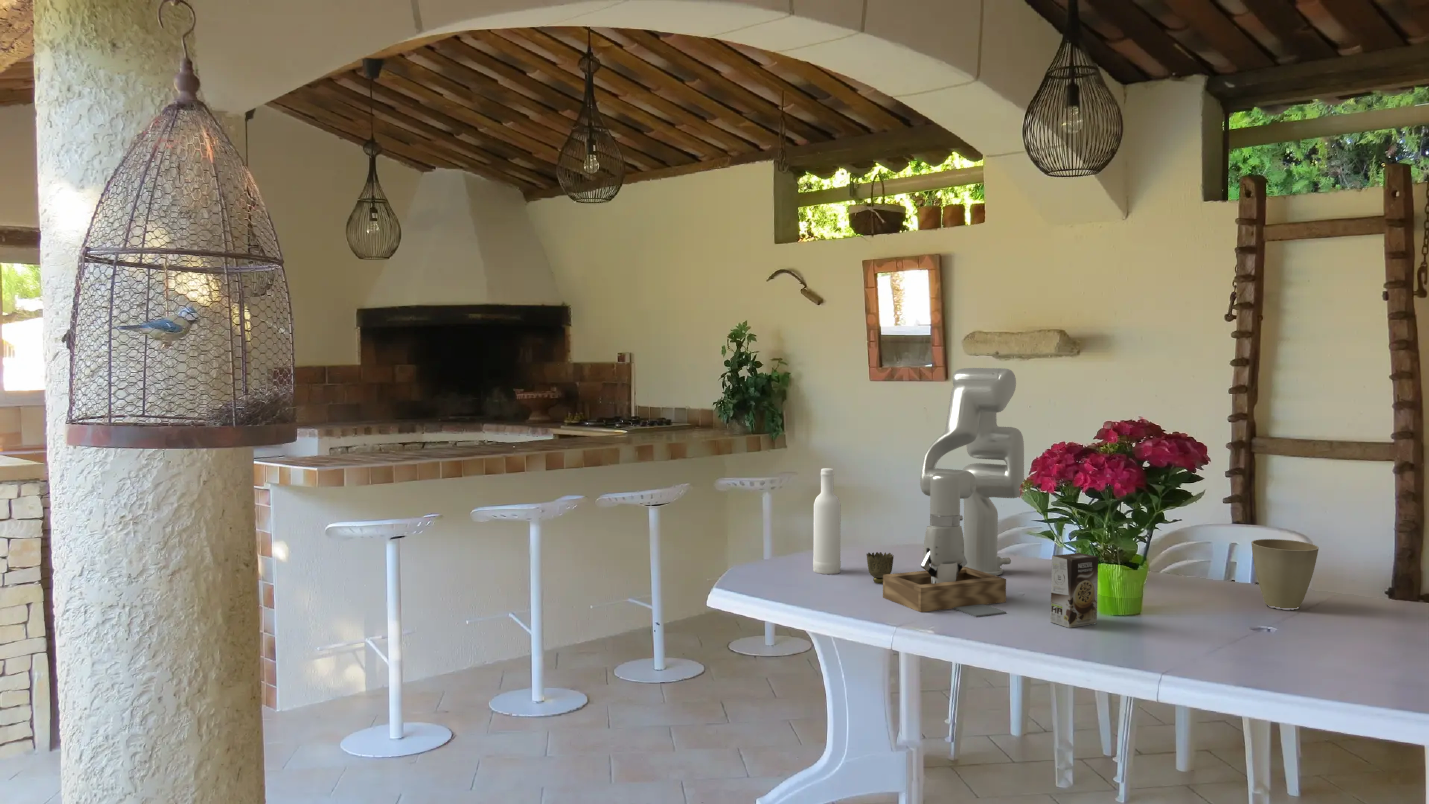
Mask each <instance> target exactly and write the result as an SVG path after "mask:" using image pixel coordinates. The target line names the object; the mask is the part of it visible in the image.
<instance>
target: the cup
mask: <svg viewBox="0 0 1429 804" xmlns="http://www.w3.org/2000/svg"><path fill="white" fill-rule="evenodd" d="M894 557H895V556H894V555H893V553H891V552H888V553H886V552H884V553H882V552H881V551H880V552H878V551H877V552H871V553H870V552H868V553H866V562H867V570H868V573H869V575H870V576H871V577H873V583H875V584H877V585H878V584H879V585H880V584H881V585H883V575H886V574H892V571H893V564H894Z"/></svg>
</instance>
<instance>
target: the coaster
mask: <svg viewBox="0 0 1429 804" xmlns="http://www.w3.org/2000/svg"><path fill="white" fill-rule="evenodd" d="M953 610H956V611H959V612H961V613H963V614H967V615H970V616H972V617H974V618H978V617H979V618H981V617H988V616H994V615H995V616H996V615H1002V614H1003V615H1004V614H1007V611H1005V610H1003V609H1000V608H997V607H995V606H994V607H993V606H990V605H989V604H986V605H985V604H977V605H969V606H960V607H954V608H953Z"/></svg>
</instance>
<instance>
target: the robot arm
mask: <svg viewBox="0 0 1429 804" xmlns="http://www.w3.org/2000/svg"><path fill="white" fill-rule="evenodd" d="M952 385H953V387H952V389H951V393H950V399H949V405H948V410H947V411H948V412H947V416H946V417H947V418H946V423H945V429H944V432H943V433H942V434H941V435H940V436H938V438H936V440H934V441H933V442H932V444H931V445H930V446H929V447H928V449H927V451H926V452H925V454H924V457H923V461H922V466H921V472H920V479H919V481H920V482H919V483H920V484H919V485H920V490H921V492H922V493H923V495H925V496H928V497H929V498H930V500H929V502H930V504H929V506H930V507H929V508H930V509H929V525H928V526H926V530H925V534H924V540H923V550H922V551H923V552H922V557H923V558H922V560H923V561H922V562H921V565H920V567H921V568H922V569H923V570H924V571H926V570H927V572H928V573H929V574H930V576H932V577H935V578H937V576H938V567H937V569H936V571H935V570H934V569H933V568H932V566H931V560H932V565H933V566H940V564H953V563H956V562H957V572H956V576H958V575H959V572H960V570H961V569H962V567H968V568H971V569H975V570H978V571H981V572H985V573H988V574H991V575H995V576H1001V575H1002V574H1003V572H1004V570H1003V569H1002V567H1001V566H1003V565H1010V564H1011V563H1012V560H1011V558H1010V557H1003V558H1001V556H999V555H998V543H999V541H998V539H999V538H998V535H999V533H998V531H999V530H998V529H999V525H998V523H999V522H998V521H999V516H998V515H999V514H998V510H997V507H996V505H995V504H994V503H993V502H992V500H991V499H990V498H997V499H998V498H999V499H1017V498H1019V497H1021V496H1022V494H1021V495H1020V491H1019V487H1020V485H1021V484H1022V482H1023V481H1024V482H1025V443H1024V442H1025V441H1024V436H1023V434H1022V431H1020V430H1019V429H1018V428H1016V427H1012V426H998V424H997V423H998V422H997V420H998V419H997V413H1001V412H1003V411H1004V410H1005V408H1006V407H1007V406H1008V404H1009V402H1010V400H1011V399H1012V398H1013V396H1014V394H1015V391H1016V387H1017V378H1016V375H1015V373H1014V371H1012V370H1011V369H1009V368H1003V367H1001V368H1000V367H999V368H997V367H996V368H995V367H985V368H984V367H965V368H960V369H957V370H955V371H954V372H953V375H952ZM964 446H966V451H967V454H968V456H970V457H971V458H973V459H978V460H993V461H994V460H997V461H1004V462H1005V464H997V463H985V462H984V463H981V462H979V463H978V462H977V463H970V464H968V465H965V466H964V467H963V469H953V468H952V469H951V468H937V467H936V466H937V464H938V462H939V460H940V459H941V458H942V457H943V456H944V455H946V454H947V453H950V452H952V451H955V450H957V449H959V448H961V447H964ZM961 499H963V515H962V514H961ZM962 521H963V528H962V525H961V522H962ZM935 583H936V581H935ZM932 584H933V579H932Z"/></svg>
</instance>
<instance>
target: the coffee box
mask: <svg viewBox="0 0 1429 804" xmlns="http://www.w3.org/2000/svg"><path fill="white" fill-rule="evenodd" d="M1098 577H1099V556H1097V555H1092V554H1087V553H1081V552H1074V553H1066V554H1065V553H1063V554H1055V555H1052V556H1051V582H1050V584H1051V587H1050V591H1051V592H1050V619H1049V621H1050V623H1051V624H1052V623H1053V624H1056V625H1059V626H1062V627H1065V628H1067V629H1068V628H1069V629H1071V628H1078V627H1082V626H1083V627H1084V626H1090V625H1089V624H1092V625H1095V624H1094V623H1097V624H1098V591H1099V590H1098V587H1099V586H1098V585H1099V584H1098V580H1099V578H1098Z"/></svg>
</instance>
